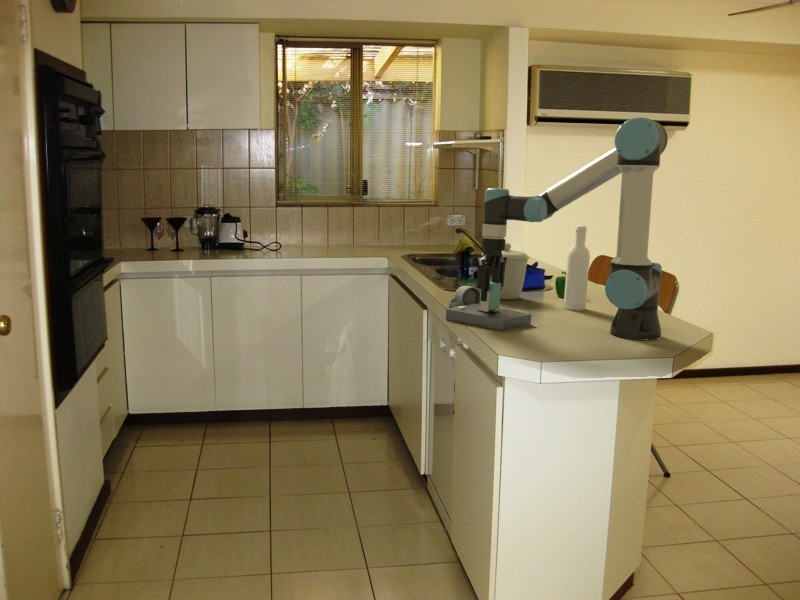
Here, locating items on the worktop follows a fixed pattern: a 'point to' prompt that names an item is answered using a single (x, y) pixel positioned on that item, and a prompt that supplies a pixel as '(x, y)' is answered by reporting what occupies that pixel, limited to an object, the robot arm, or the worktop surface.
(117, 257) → the worktop surface
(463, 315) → the socket
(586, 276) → the bottle
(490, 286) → the plug
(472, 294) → the ceramic mug
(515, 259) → the canister
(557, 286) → the bell pepper
